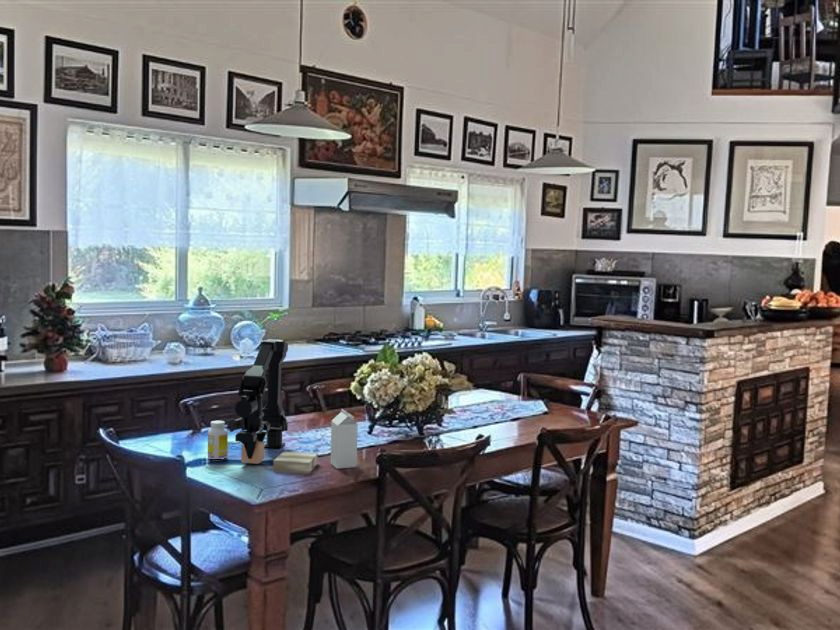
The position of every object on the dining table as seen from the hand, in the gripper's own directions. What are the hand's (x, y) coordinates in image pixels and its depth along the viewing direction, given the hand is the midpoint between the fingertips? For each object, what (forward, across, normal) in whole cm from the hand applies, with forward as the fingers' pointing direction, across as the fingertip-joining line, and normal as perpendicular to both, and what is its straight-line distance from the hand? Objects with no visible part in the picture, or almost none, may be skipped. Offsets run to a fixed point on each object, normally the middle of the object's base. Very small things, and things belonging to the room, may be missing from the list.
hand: (252, 456), depth 275 cm
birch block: (+3, 0, +15) cm, 15 cm away
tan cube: (+2, 0, 0) cm, 2 cm away
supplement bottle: (+3, -4, -14) cm, 15 cm away
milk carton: (+3, -6, +30) cm, 31 cm away
